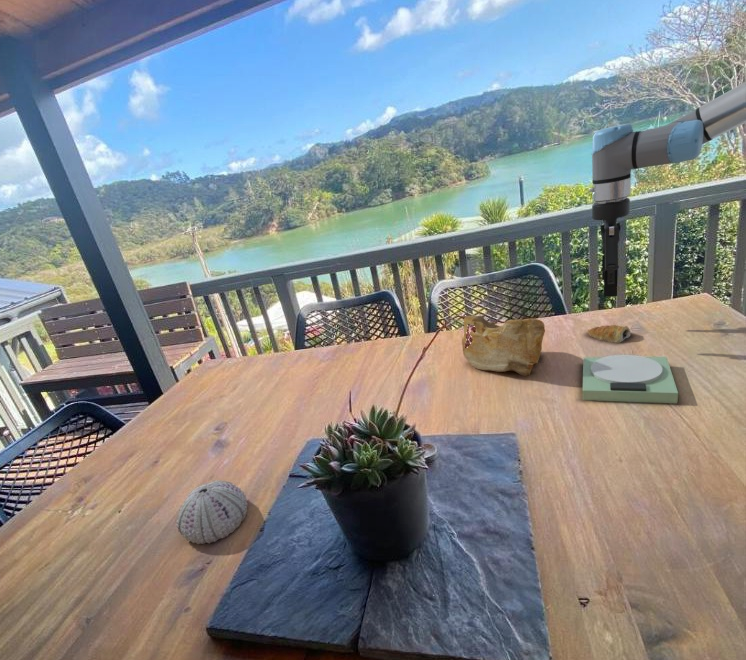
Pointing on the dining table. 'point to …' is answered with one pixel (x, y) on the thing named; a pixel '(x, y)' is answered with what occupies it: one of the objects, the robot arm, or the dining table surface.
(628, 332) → the pastry
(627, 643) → the dining table surface
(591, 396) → the scale
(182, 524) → the sea urchin shell
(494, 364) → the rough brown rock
